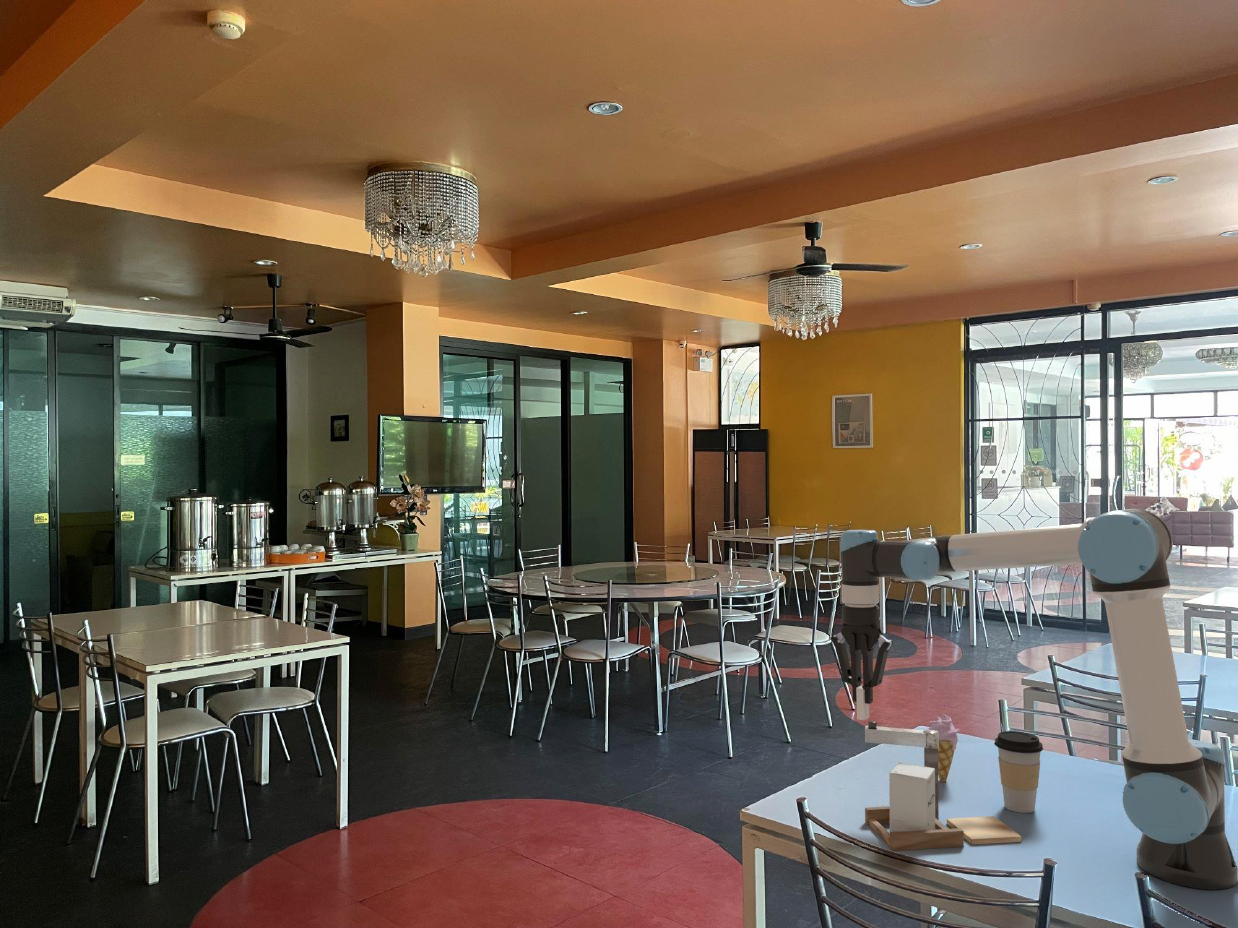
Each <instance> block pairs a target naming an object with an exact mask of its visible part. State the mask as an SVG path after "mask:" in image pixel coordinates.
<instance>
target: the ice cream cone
mask: <svg viewBox="0 0 1238 928" xmlns="http://www.w3.org/2000/svg"><path fill="white" fill-rule="evenodd" d="M935 719H936V720H930V721H929V722H928V724H929V727H928V728H927V730H935V731H938V732H939V748H937V749H938V780H939V782H941V783H942V782H943V783H945V782H947V780H948V776H949V773H950V769H951V766H952V762H953V758H954V755H955V750H956V749H957V744H958V741H959V737H958V735H957V733H959V732H961V729H959V728H955V726H954V724H953V719H952V718H951V716H949V715H946V714H944V713H942V715H941V717H939V716H935Z"/></svg>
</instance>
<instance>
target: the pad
mask: <svg viewBox="0 0 1238 928" xmlns="http://www.w3.org/2000/svg"><path fill="white" fill-rule="evenodd" d="M946 825H948V826H949V827H950V829H956V828H961V829H962V830H963V831H964V840H966V841H967V842H968V843H969V844H970V845H989V844H1003V843H1004V844H1005V843H1008V844H1009V843H1021V842H1022V835H1020V834H1019V833H1018V832H1016V831H1015V830H1013V829H1012V828H1011V827H1009V826H1008V825H1006V824H1005V823H1003V822H1002V821H1001V820H1000V819H998V818H997V817H995V816H994V815H991V816H990V815H989V816H974V817H973V816H971V817H969V816H968V817H955V818H954V817H953V818H952V817H951V818H946Z"/></svg>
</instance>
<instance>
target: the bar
mask: <svg viewBox="0 0 1238 928" xmlns="http://www.w3.org/2000/svg"><path fill="white" fill-rule="evenodd" d="M864 742H865V743H870V744H880V745H881V744H882V745H891V746H892V745H894V746H906V747H915V748H916V747H917V748H924V747H925V748H929V749H937V748H939V732H938V731H935V730H929V729H915V728H914V729H913V728H902V727H901V728H899V727H888V726H879V725H878V722H877V721H875V720H868V722H867V725H865V727H864Z"/></svg>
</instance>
